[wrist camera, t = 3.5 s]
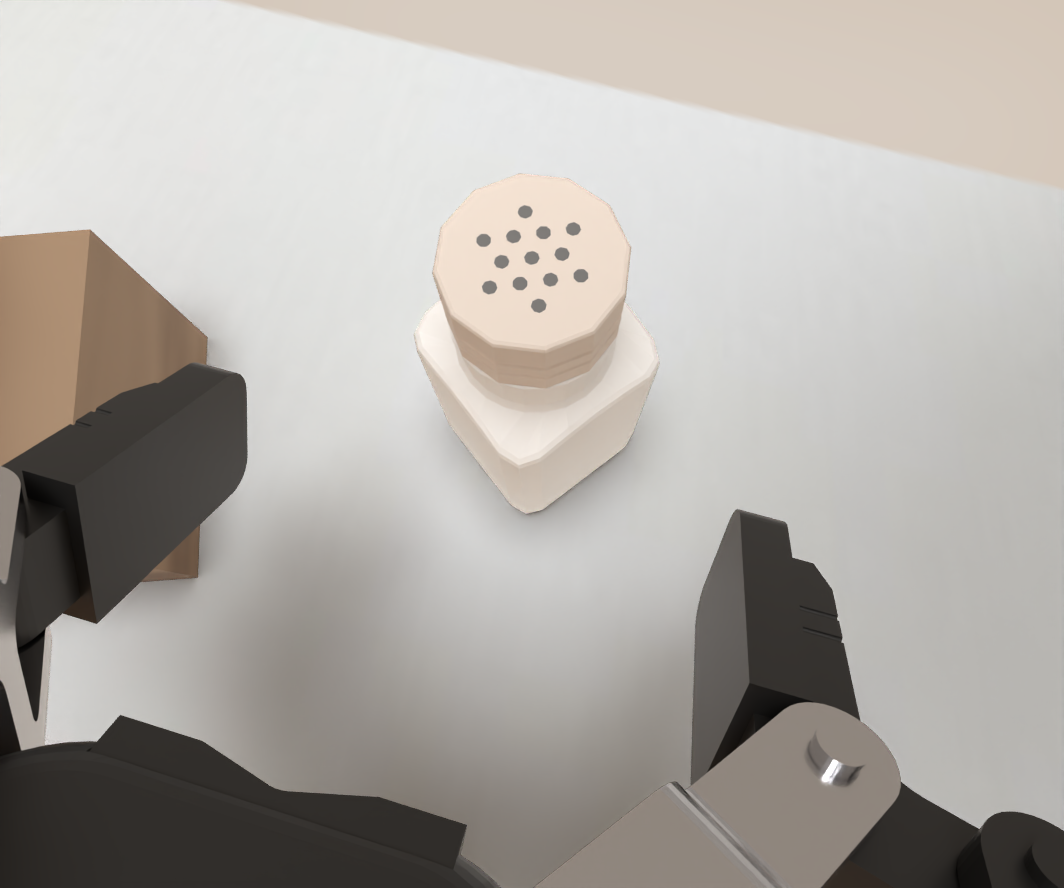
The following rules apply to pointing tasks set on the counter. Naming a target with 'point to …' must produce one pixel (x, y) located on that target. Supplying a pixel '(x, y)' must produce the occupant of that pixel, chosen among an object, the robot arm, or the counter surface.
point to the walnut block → (83, 345)
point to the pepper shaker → (536, 335)
